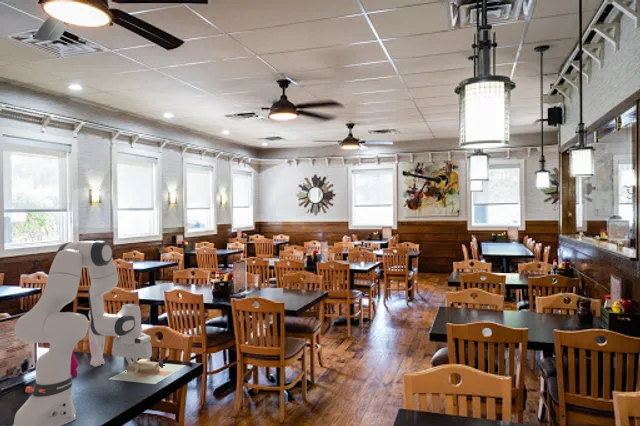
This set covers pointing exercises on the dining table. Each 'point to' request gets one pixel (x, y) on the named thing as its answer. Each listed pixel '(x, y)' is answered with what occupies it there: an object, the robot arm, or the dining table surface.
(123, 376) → the mat
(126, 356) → the robot arm
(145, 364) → the T block
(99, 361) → the skyscraper
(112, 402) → the dining table surface
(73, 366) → the pepper mill
